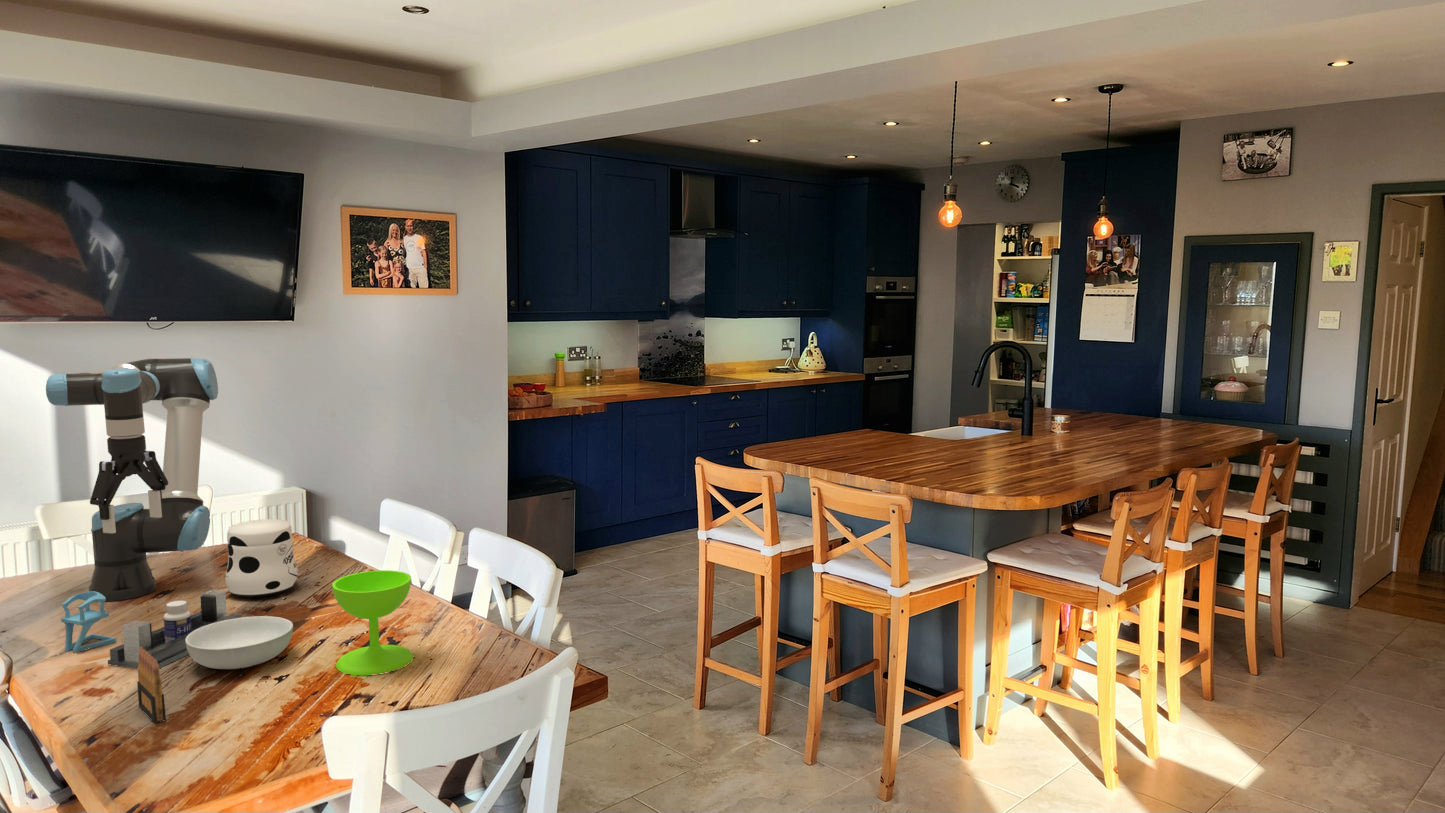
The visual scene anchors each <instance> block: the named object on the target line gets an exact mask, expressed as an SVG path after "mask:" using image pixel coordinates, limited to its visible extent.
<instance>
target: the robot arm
mask: <svg viewBox="0 0 1445 813" xmlns="http://www.w3.org/2000/svg"><path fill="white" fill-rule="evenodd" d="M216 374H217V373H216V371H215V368H214V366H213V363H212V362H211V361H210V360H209V359H206V358H195V357H191V358H188V357H187V358H146V359H140V360H139V359H138V360H134V361H130V362H125V363H120V364H119V363H118V364H116V365H114V366H112V367H110V368H109V369H100V370H95V371H87V372H85V371H84V372H79V373H78V372H77V373H67V372H65V373H54V374H51V375H50V376H48V378H47V380H46V384H45V395H46V399H47V401H48V402H49V403H50V404H51V405H53V406H64V407H70V406H97V405H99V406H102V405H103V407H104V408H103V409H104V418H105V419H104V420H105V429H106V436H107V437H108V438H107V439H106V443H107V452H108V454H109V455H110V456H111V458H110V461H103V460H102V461H100V462H99V463H98V473H97V478H96V480H95V484H94V487H93V490H92V494H91V497H90V500H89V504H90V505H93V506H97V507H98V511H96V512H95V513H93V515H92V517H91V529H90V532H91V535H92V550H93V563H94V569H93V572H92V577H91V582H90V585H89V586H88V591H87V592H90V591H94V592H98V593H100V594H102V595H103V596H104V597H105V598H106V600H105V602H115V601H114V600H117V601H124V599H125V600H130V599H135V598H139V597H142V596H146V595H148V594H151V593H152V592H154V591H155V590H157V581H156V578H155V577H154V575H153V572H152V569H151V567H150V565H149V564H148V560H147V554H152V553H168V552H181V553H183V552H185V551H186V552H187V551H194V550H198V549H200V548H201V547H202V546H203V545H204V543H205V542H206V540H207V537H208V535H209V529H210V525H211V517H210V516H211V513H210V512H211V511H210V509H209V508H208V506H206V505H204V500H203V499H202V498H201V497H200V496H199V495H198V494H199V493H198V491H199V477H200V476H199V475H200V461H201V446H202V431H203V417H204V416H203V415H204V412H205V411H206V410H208V409H209V408H210V404H211V402H210V401H214V400H216V399H217V398H218V395H219V386H218V384H219V383H218V379H217V375H216ZM151 401H161V405H162V407H163V408H165V410H166V412H167V413H166V414H167V415H166V425H165V427H166V428H165V437H164V439H165V440H164V452H163V465H162V468H161V465H160V463H159V462H158V460H157V456H156V455H157V454H156V452H155V451H154V450H153V451H152V450H147V444H146V436H145V435H144V434H145V433H146V431H145V418H144V406H143V404H146V403H148V402H149V403H150V402H151ZM133 475H137V476H138V477H139V478H140V479H141V480H142V481H143V482H144V483H145V484H146V485H147V486H148V487H149V490H147V495H148V506H149V507H148V508H145V506H144V505H143V503H142V502H127V503H123V504H122V503H121V504H117V505H114V504H111V503H112V501H113V499H114V497H115V495H116V494H117V492H118V490H119V488H120V486H121V484H122V482H123V481H124V480H125V479H126V478H127V477H131V476H133ZM145 594H146V595H145Z"/></svg>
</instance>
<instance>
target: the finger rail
mask: <svg viewBox="0 0 1445 813" xmlns="http://www.w3.org/2000/svg"><path fill="white" fill-rule="evenodd" d="M199 600H200V611H198V612H195V613H194V614H191V632H193V631H194V630H196V629H198V628H200V627H203V626H206V625H209V624H212V623H216V622H220V621H224V620H229V619H235V618H241V614H240V613H233V612H232V613H231V614H228V612H227V597H226V591H225V590H217V589H210V590H209V589H208V590H207V591H205V592H204V591H203V592H202V593H201V596H200V599H199ZM227 614H228V615H227ZM121 628H122V639H123V641H122V642H123V643H122V644H120V645H117V646H115V647H112V648H110V649H109V658H110V659H108V660H107V665H108V664H111V665H110V666H112V665H117V666H116V667H121V666H124V668H129V667H133V668H132V669H137V668H138V661H139V660H138V656H139V649H140V647H141V646H142V647H143V649H145V650H146V651H147V652H148V653H149V654H150V655H151V657H153V658H154V659H156V661H157V663H158V666H159V669H161V668H163V667H165V666H167V665H169V664H172V663H174V662H175V660H176V661H178V660H180V659H182V658H184V657H186V656H188V654H189V653H188V650H187V647H186V643H185V639H186V637H187V636H188V635H189V634H190V633H191V632H190V633H187V634H185V635H183V636H181V637H178V638H176V639H174V640H172V641H169V642H167V643H165V633H164V626H162V627H159V628H158V629H155V630H153V631H152V629H153V628H152V623H150V621H141V620H140V621H139V620H133V621H129V622H127V623H125V624H122V627H121ZM179 658H180V659H179ZM177 659H178V660H177ZM173 661H174V662H173ZM171 662H172V663H171ZM162 666H163V667H162ZM160 667H161V668H160Z"/></svg>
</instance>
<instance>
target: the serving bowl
mask: <svg viewBox="0 0 1445 813" xmlns="http://www.w3.org/2000/svg"><path fill="white" fill-rule="evenodd" d="M293 631H294V624H293V622H292V621H291V620H290V619H287V618H284V617H279V616H271V615H269V616H268V615H263V616H261V615H260V616H259V615H258V616H257V615H255V616H243V617H240V618H235V619H229V620H224V621H220V622H216V623H212V624H209V625H206V626H203V627H200V628H198V629H196V630H194V631H193V632H191V633H190V634H189V635H188V636H187V637H186V639H185V643H186V647H187V650H188V653H189V656H190V657H191V658H192V659H193V660H194V662H196V663H198V665H200V666H202V667H206V668H209V669H217V670H239V669H240V668H241V669H246V668H250V667H254V666H256V665H260V664H263V663H265V662H268V661H269V660H272V659H273V658H275V657H277V656H278V655H280V654H281V653H282V652H283V651H284V650H285V649H286V648H287V647H288V645H289V644H290V642H291V640H292V636H293ZM253 665H254V666H253Z"/></svg>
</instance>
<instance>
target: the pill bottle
mask: <svg viewBox="0 0 1445 813" xmlns="http://www.w3.org/2000/svg"><path fill="white" fill-rule="evenodd" d="M187 602H188V601H186V600H174V601H170V602H167V603H166V606H165V607H166V613H164V615H163V627H164V633H165V643H167V642H169V641H172V640H174V639H176V638H178V637H181V636H183V635H185V634H187V633H190V632H191V615H192V614H191V612H190V611H189V610H187V609H188V603H187Z"/></svg>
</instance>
